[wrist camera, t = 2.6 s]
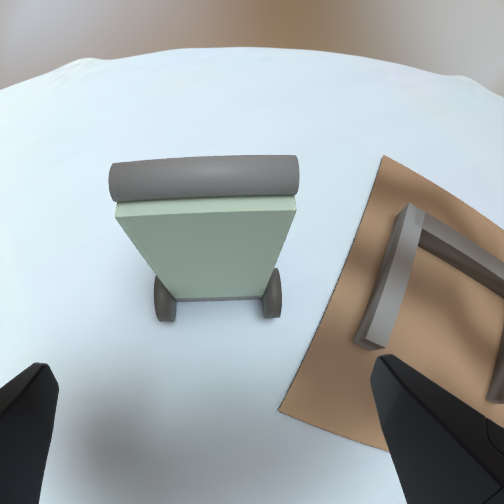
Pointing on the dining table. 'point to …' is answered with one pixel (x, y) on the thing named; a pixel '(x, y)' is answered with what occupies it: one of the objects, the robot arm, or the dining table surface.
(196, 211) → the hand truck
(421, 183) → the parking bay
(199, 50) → the dining table surface
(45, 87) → the dining table surface
